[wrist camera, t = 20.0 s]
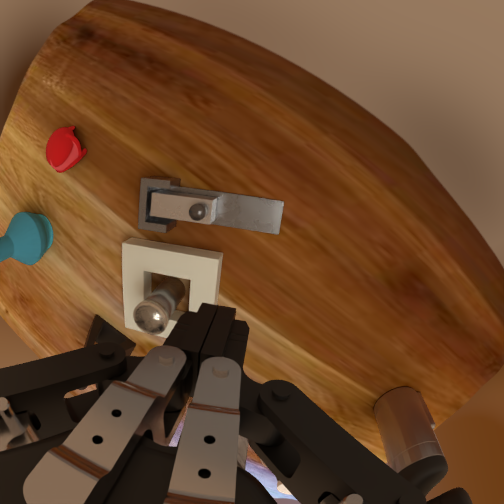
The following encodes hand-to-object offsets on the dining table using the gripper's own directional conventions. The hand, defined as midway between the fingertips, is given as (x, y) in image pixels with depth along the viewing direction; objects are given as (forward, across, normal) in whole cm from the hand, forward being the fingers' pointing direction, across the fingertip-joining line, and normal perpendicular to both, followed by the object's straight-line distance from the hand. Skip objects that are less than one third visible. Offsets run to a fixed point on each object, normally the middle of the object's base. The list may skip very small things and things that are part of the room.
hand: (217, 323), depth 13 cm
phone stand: (+27, +23, +26) cm, 44 cm away
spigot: (+27, +11, +13) cm, 32 cm away
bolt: (+27, +10, 0) cm, 29 cm away
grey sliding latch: (+27, +6, 0) cm, 28 cm away
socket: (+27, +11, +13) cm, 32 cm away
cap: (+27, +30, -7) cm, 41 cm away
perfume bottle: (+27, +38, +8) cm, 47 cm away
